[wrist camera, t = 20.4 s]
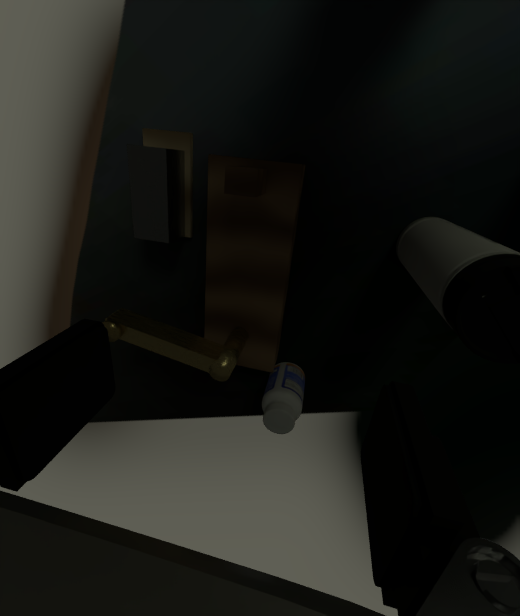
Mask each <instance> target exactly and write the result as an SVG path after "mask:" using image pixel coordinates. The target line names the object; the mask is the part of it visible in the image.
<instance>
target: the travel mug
mask: <svg viewBox="0 0 520 616" xmlns="http://www.w3.org/2000/svg"><path fill="white" fill-rule="evenodd" d="M396 252H397V256H398V258H399V260H400V262H401V263H402V264H403V266H404V267H405V268H406V270H407V271H408V272H409V274H410V275H411V276H412V277H413V279H414V280H415V281H416V283H417V284H418V285H419V287H420V288H421V289H422V291H423V292H424V293H425V295H426V296H427V297H428V299H429V300H430V301H431V303H432V304H433V305H434V307H435V308H436V309H437V310H438V312H439V313H440V314H441V316H442V317H443V318H444V320H445V321H446V322H447V324H448V325H449V326H450V327H451V328H452V329H453V330H454V331H455V333H456V334H457V335H458V337H459V338H460V339H461V340H462V342H463V343H464V344H465V345H466V347H467V348H468V349H470V350H471V351H472V352H473V353H475V354H477V355H478V356H480V357H482V358H485V359H487V360H490V361H493V362H499V363H507V364H517V363H520V253H519V252H517V251H514V250H512V249H510V248H508V247H505V246H503V245H501V244H499V243H496V242H494V241H492V240H489V239H487V238H485V237H483V236H480V235H478V234H476V233H473V232H471V231H469V230H467V229H464V228H462V227H460V226H458V225H455V224H453V223H451V222H448V221H446V220H444V219H442V218H438V217H423V218H420V219H417V220H415V221H413V222H412V223H410V224H409V225H407V226H406V227H405V228H404V229H403V231H402V232H401V234H400V235H399V237H398V240H397V244H396Z"/></svg>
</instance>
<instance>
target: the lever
mask: <svg viewBox="0 0 520 616" xmlns="http://www.w3.org/2000/svg"><path fill="white" fill-rule="evenodd" d="M103 324H104V327H106V328H107V330H108V336H109V342H114V341H116V340H117V339H121V340H124V341H126V342H129V343H132V344H134V345H137V346H140V347H142V348H145V349H147V350H150V351H153V352H155V353H158V354H161V355H163V356H166V357H169V358H171V359H174V360H177V361H179V362H182V363H185V364H187V365H190V366H193V367H195V368H198V369H200V370H203V371H206V372H208V373H210V375H211V377H212V378H213V379H215V380H217V381H226V380H228V379H229V377H230V375H231V373H232V371H233V369H234V367H235V365H236V363H237V361H238V359H239V357H240V355H241V353H242V351H243V349H244V347H245V345H246V342H247V340H248V338H249V334H248V332H247V331H246V330H245V329H244V328H241V327H236V328H234V329H233V330H232V332H231V333H230V335H229V336H228V338H227V340H226V341H225V343H224V345H221V344H219V343H216V342H213V341H211V340H208V339H205V338H202V337H200V336H197V335H194V334H192V333H189V332H186V331H183V330H181V329H178V328H175V327H173V326H170V325H167V324H165V323H162V322H159V321H156V320H154V319H151V318H148V317H146V316H143V315H140V314H138V313H135V312H132V311H129V310H127V309H124V308H121V309H119V310H118V311H116V312H115V313H113V314H112V315H110V316H109V317H107V318H105V322H103Z"/></svg>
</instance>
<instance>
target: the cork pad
mask: <svg viewBox="0 0 520 616" xmlns="http://www.w3.org/2000/svg"><path fill="white" fill-rule="evenodd" d="M143 146H148V147H158V148H167V149H174V150H182V151H185V236H184V237H190V238H191V237H192V217H193V134H192V133H185V132H175V131H165V130H155V129H144V128H143Z"/></svg>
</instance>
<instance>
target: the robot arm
mask: <svg viewBox="0 0 520 616" xmlns="http://www.w3.org/2000/svg"><path fill="white" fill-rule="evenodd" d="M114 392H115V381H114V374H113V366H112V359H111V351H110V344H109V336H108V330H107V328H106V327H104V324H103V323H101V322H98V321H93V320H89V319H83V320H81V321H79V322H78V323H76V324H74V325H73V326H71V327H69V328H68V329H66V330H64V331H63V332H61V333H59V334H58V335H56V336H54V337H53V338H51V339H50V340H48V341H46V342H45V343H43V344H41V345H39V346H38V347H36V348H35V349H33V350H31V351H30V352H28V353H26V354H24V355H23V356H21V357H19V358H18V359H16V360H15V361H13V362H11V363H10V364H8V365H6V366H5V367H3V368H1V369H0V486H1V487H3V488H7V489H10V490H13V491H18V490H19V489H20V488H21V487H22V486H23V485H24V484H25V483H26V482H27V481H30V480H32V479H34V478H35V477H36V476H37V475H38V474H39V473H40V472H41V471H42V470H43V469H44V468H45V467H46V465H47V464H48V463H49V462H50V461H51V460H52V459H53V458H54V457H55V456H56V455H57V454H58V453H59V452H60V451H61V450H62V449H63V448H64V447H65V446H66V445H67V444H68V443H69V442H70V441H71V440H72V438H73V437H74V436H75V435H76V434H77V433H78V432H79V431H80V430H81V429H82V428H83V427H84V426H85V425H86V424H87V423H88V422H89V421H90V420H91V419H92V418H93V417H94V416H95V415H96V414H97V413H98V411H99V410H100V409H101V408H102V407H103V406H104V405H105V404H106V403H107V402H108V401H109V400H110V399H111V398H112V397H113V395H114ZM361 464H362V474H363V484H364V492H365V493H364V494H365V503H366V512H367V522H368V532H369V542H370V551H371V561H372V571H373V579H374V583H375V585H376V586H378V587H381V589H382V597H383V604H384V605H386V606H390V607H393V608H396V609H397V610H398V616H520V560H519V559H518V558H517V557H515V556H514V555H513V554H512V553H510V552H509V551H508V550H506V549H505V548H503V547H502V546H500V545H498V544H496V543H494V542H492V541H489V540H487V539H482V538H480V536H479V534H478V531H477V529H476V526H475V524H474V521H473V519H472V516H471V514H470V512H469V509H468V507H467V504H466V502H465V499H464V497H463V495H462V492H461V489H460V487H459V484H458V482H457V480H456V477H455V474H454V472H453V470H452V467H451V465H450V462H449V460H448V457H447V455H446V452H445V450H444V447H443V445H442V443H441V441H440V439H438V438H437V437H436V436H432V435H431V433H430V430H429V428H428V425H427V422H426V420H425V417H424V414H423V412H422V409H421V406H420V404H419V401H418V398H417V396H416V393H415V391H414V388H413V386H411V385H408V384H403V383H398V382H393V381H392V382H391V383H390V384H389V385H383V387H382V389H381V392H380V395H379V398H378V401H377V404H376V407H375V410H374V413H373V416H372V419H371V421H370V424H369V427H368V430H367V433H366V436H365V439H364V442H363V445H362V449H361ZM0 616H385V615H383V614H380V613H378V612H375V611H373V610H370V609H368V608H365V607H363V606H360V605H358V604H355V603H353V602H350V601H347V600H344V599H341V598H338V597H335V596H332V595H329V594H326V593H323V592H320V591H317V590H314V589H312V588H309V587H306V586H303V585H300V584H297V583H294V582H291V581H288V580H285V579H282V578H279V577H276V576H273V575H270V574H266V573H263V572H260V571H257V570H254V569H251V568H247V567H244V566H241V565H238V564H235V563H231V562H229V561H225V560H222V559H219V558H216V557H213V556H210V555H207V554H203V553H200V552H197V551H194V550H191V549H188V548H184V547H181V546H178V545H175V544H172V543H169V542H165V541H162V540H159V539H156V538H152V537H149V536H146V535H143V534H139V533H136V532H133V531H130V530H127V529H124V528H120V527H117V526H114V525H111V524H107V523H104V522H101V521H98V520H94V519H91V518H88V517H85V516H82V515H78V514H75V513H72V512H68V511H66V510H62V509H59V508H56V507H52V506H49V505H46V504H42V503H39V502H36V501H33V500H29V499H26V498H23V497H20V496H16V495H13V494H10V493H6V492H3V491H0Z"/></svg>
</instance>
